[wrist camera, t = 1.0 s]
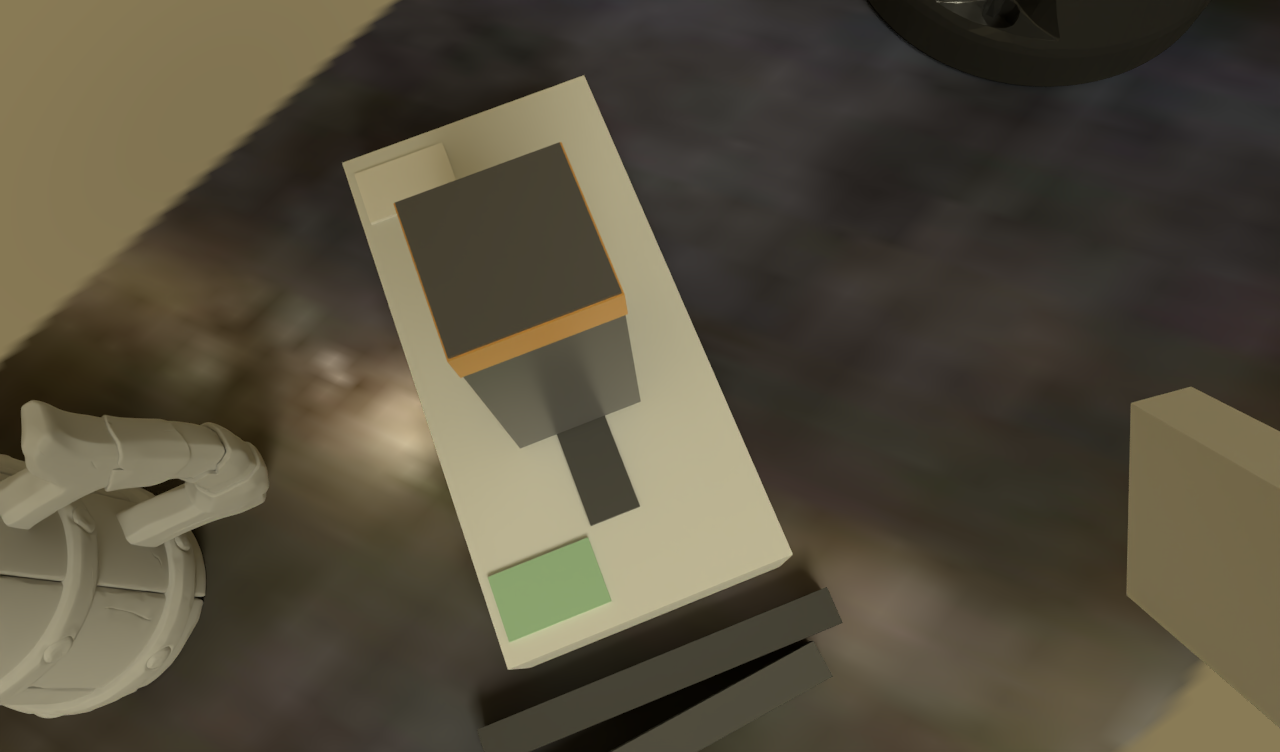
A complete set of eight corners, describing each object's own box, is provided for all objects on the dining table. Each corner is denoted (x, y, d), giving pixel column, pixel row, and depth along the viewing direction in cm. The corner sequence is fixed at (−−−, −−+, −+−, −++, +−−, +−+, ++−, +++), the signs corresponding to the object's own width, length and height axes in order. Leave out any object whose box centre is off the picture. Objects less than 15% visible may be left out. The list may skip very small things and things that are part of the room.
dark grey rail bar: (821, 589, 31) (826, 587, 30) (836, 624, 30) (842, 622, 29) (484, 727, 30) (477, 729, 29) (496, 763, 30) (488, 768, 28)
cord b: (808, 641, 30) (813, 641, 29) (827, 675, 30) (833, 676, 29) (480, 821, 29) (472, 828, 28) (496, 859, 29) (488, 867, 28)
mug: (-33, 562, 32) (-424, 510, 21) (266, 388, 34) (51, 250, 22) (44, 759, 30) (-345, 822, 19) (358, 565, 32) (174, 514, 20)
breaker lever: (596, 289, 30) (560, 139, 21) (642, 402, 28) (624, 292, 20) (477, 334, 29) (391, 201, 21) (518, 450, 28) (446, 360, 20)
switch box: (594, 136, 36) (583, 72, 32) (779, 566, 31) (793, 553, 27) (378, 215, 36) (340, 160, 32) (530, 667, 30) (507, 669, 26)
